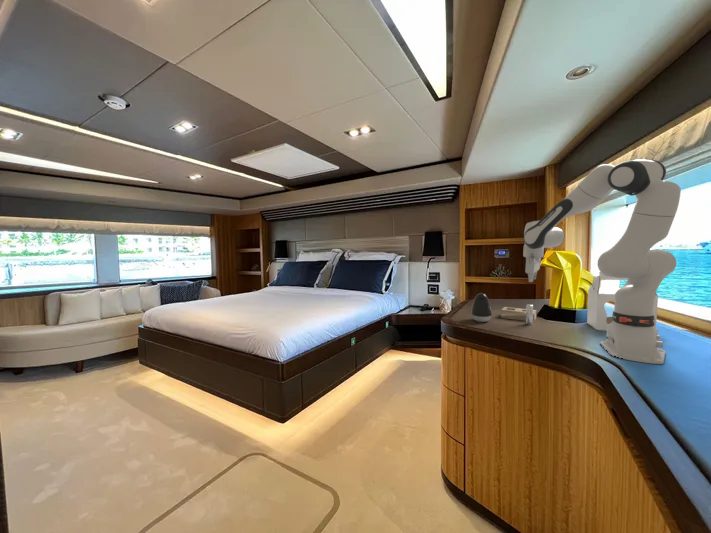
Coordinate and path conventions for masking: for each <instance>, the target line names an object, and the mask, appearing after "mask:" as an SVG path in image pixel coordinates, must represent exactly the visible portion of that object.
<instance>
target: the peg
mask: <svg viewBox="0 0 711 533" xmlns="http://www.w3.org/2000/svg"><path fill="white" fill-rule="evenodd" d="M525 309H526V321H525V325H527V324H528V326H533V324H534V322H533V310H534V305H533V304H526V306H525Z"/></svg>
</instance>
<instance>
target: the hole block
mask: <svg viewBox="0 0 711 533" xmlns="http://www.w3.org/2000/svg"><path fill="white" fill-rule="evenodd" d="M500 315H501V316H500V318H502V319H507V320H516V321H525V322H526V308H519V307H510V306H509V307H508V306H504V307H502V308H501V310H500ZM536 319H537V309H533V323H534V322H535V321H536Z"/></svg>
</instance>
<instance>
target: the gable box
mask: <svg viewBox="0 0 711 533" xmlns="http://www.w3.org/2000/svg"><path fill="white" fill-rule="evenodd" d="M605 280H607V281H609V280H611V281H614V280H615V281H627V280H628V278H615V277H610V276H605V275H603V274H602V273H601V272H600V271H599V275H597V276H593V280H592V283H591V285H590V287H589V288H588V291H587V292H588V293H587V315H586V317H587V318H586V320H587V321H586V323H587V324H588V325H589V326H591V327H592V328H593V329H595V330H596V331H605V332H607V325H608V324H610V323H611V322H613V320H612V316H608V314H607V311H606V309H605V304H606V303H608V302H615V293H616V291H617V290H618V289H620V288H621V287H602V286H601V282H602V281H605ZM658 300H659V296H658V293H656V294H655V298H654V308H653V315H654V319H655V322H654V327H655V328H656V329H657V319H658V318H657V316H658Z"/></svg>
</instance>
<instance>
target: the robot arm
mask: <svg viewBox="0 0 711 533" xmlns="http://www.w3.org/2000/svg"><path fill="white" fill-rule="evenodd" d="M666 174H667V168H666V166H665V165H664V164H663V163H662V162H661V161H658V160H655V159H641V158H640V159H634V160H627V161H622V162H620V163H619V164H617V165H614V164H607V163H605V164H604V163H603V164H600V165H597V167H595V168H594V169H593V170H591V171H590V172H589V173H588V174H587V175H586V176H585V177H584V178H583V179H582V180H581V181H580V182H579V183H578V185H577V186H576V187H575V188H574V189H573V190H572V191H571V192H570V193H569V194H568V195H566V197H564V198H563V199H562V200H560V201H559V202H558V203H557V204H556V205H554V206H553V207H552V208H550V210H549V211H548V212H547V213H546V214H545V215H544V216H543V217H542V218H540V220H533V221H529V222H527V223H526V224H525V226H524V230H523V231H524V232H523V242H524V245H523V251H522V252H523V253H522V254H523V255H522V256H523V257H524V258H525V269H524V270H525V271H524V272H525V273H526V274H527V277H528V283H533V282H534V280H536V279H537V274H538V271H539V270H540V268H541V263H542V258H544V254H545V253H544V252H545V251H544V250H545V248H558V247H559V246H561V245H562V244H563V242H564V241H565V236H566V235H565V232H564V230H562V228H560V227H557V226H558V224H559V223H560V222H562V221H564V220H565V219H566V218H569V217H571V216H574V215H579V214H582V213H586V212H587V213H588V212H591V211H592V210H594V209H595V208H597V207H598V206H599V205H601V203H602V202H604V201H605V199H606V198H608V196H609V195H610V194H611V193H612V192H613V191H615V190H616V191H618V192H621V193H623V194H625V195H629V196H631V197H632V196H635V198H636V201H635V206H634V207H633V211H632V214H631V217H630V220H629V223H628V225H627V227H626V229H625V232H624V233H623V235H622V236H621V238H620V239H618V241H617V243H615V245H613V246H612V247H611V248H610V249H609V250H607V251H604V252H603V253H601V255H600V256H599V257H598V259H597V267H598V271H599V272H601V273H602V274H603V275H605V276H610V277H615V278H628V280H626V282H625V284H624V285H623V286H622V287H619V288H620V289H618V290H617V291H616V293H615V301H614V310H613V311H612V314H611V317H612V320H613V322H611V323H610V324H608V325H607V331H606V335H605V336H606V337H605V338H606V339H605V340H603V341H600V343H599V345H600V344H601V345H602V346H601V345H600V346H601V347H602V348H603V347H604V348H603V350H605V351H606V350H607V351H608V352H607V351H606V352H607V353H608V355H610V354H611V355H612V356H611V355H610V356H611V357H614V356H616V357H615V358H617V357H619V358H618V359H621V358H623V359H622V360H626V361H627V360H628V361H631V362H639V363H646V364H655V365H663V364H665V359H666V350H665V349H663V346H664V341H661V339H662V335H659V330H658V328H657V327H656V328H655V327H654V322H655V319H654V315H653V308H654V298H655V294H657V291H658V289H659V287H660V286H661V283H662V282H663V281H664V279H665V278H666V277H667V276H669V275H670V274H671V273H673V272H674V271H675V269H676V267H677V259H676V257H675V255H674V254H673V253H671V251H667V250H664V249H658V248H652V247H654V246H655V245H656V244H658V243H659V242H662V241H663V240H664V239H666V237H668V235H669V233H670V230H671V227H672V225H673V222H674V219H675V217H676V214H677V212H678V208H679V205H680V199H681V187H680V185H678V183H675V182H673V181H668V180H664V179H665V178H666Z"/></svg>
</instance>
